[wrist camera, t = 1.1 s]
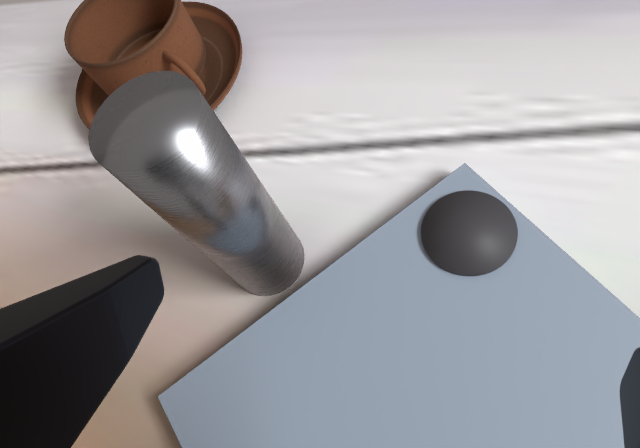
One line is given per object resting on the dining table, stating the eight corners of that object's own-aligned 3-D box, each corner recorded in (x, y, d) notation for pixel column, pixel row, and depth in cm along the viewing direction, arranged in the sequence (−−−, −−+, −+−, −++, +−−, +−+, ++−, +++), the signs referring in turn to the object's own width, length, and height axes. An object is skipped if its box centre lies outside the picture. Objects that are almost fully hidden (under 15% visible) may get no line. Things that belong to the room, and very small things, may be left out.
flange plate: (328, 724, 18) (273, 835, 13) (169, 399, 25) (88, 379, 19) (710, 397, 20) (810, 369, 14) (464, 175, 27) (467, 96, 21)
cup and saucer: (278, 31, 35) (246, -48, 30) (201, 175, 31) (148, 114, 26) (145, 15, 39) (96, -58, 34) (63, 139, 35) (-8, 80, 30)
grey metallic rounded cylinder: (257, 311, 26) (115, 195, 15) (221, 256, 28) (72, 119, 17) (318, 264, 26) (223, 118, 15) (279, 213, 28) (169, 51, 17)
